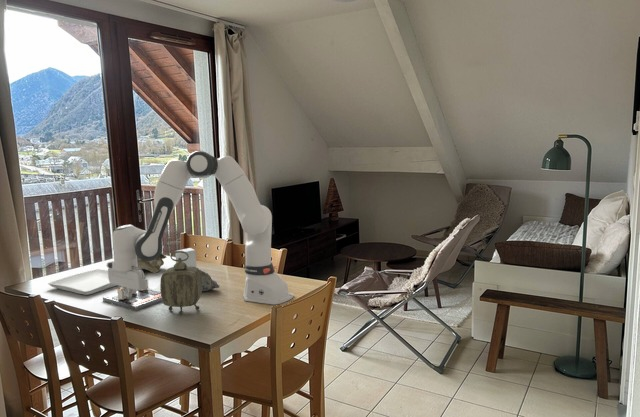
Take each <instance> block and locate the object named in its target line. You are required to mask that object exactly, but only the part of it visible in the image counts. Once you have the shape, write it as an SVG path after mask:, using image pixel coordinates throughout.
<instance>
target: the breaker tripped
mask: <svg viewBox="0 0 640 417" xmlns="http://www.w3.org/2000/svg"><path fill="white" fill-rule="evenodd" d="M116 290H117V292H116V293H117V294H118V299H122V300H123V299H126V298H128V297H124V292H123V290H122V286H120V287H118V288H116Z"/></svg>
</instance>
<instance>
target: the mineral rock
mask: <svg viewBox="0 0 640 417" xmlns="http://www.w3.org/2000/svg"><path fill="white" fill-rule="evenodd" d="M199 271H200V273H201V279H202V292H207V291H212V290H215V289H219V288H220V285H219V283H218V282H217V281H216V280H214V279H212V277H211V275H210V273H207V272H205V271H204V270H201V269H199Z"/></svg>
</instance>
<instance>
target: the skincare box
mask: <svg viewBox="0 0 640 417" xmlns="http://www.w3.org/2000/svg"><path fill="white" fill-rule="evenodd" d="M176 251H184V252H186V253H187V254H188V256H189V257H188V259H187V260H186V261H182V262H184V263H185V264H186V265H187V266H192V267H196V268H197V257H196V256H197V253H196V250H195V249H193V248H192V247H188V248H183V249H179V250H176ZM174 254H175V260H178V258H181V260H184V259H186V258H187V255H186V254H185V253H174ZM176 263H177V261H175V264H176Z"/></svg>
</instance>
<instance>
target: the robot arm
mask: <svg viewBox="0 0 640 417" xmlns="http://www.w3.org/2000/svg"><path fill="white" fill-rule="evenodd" d="M210 176H213V177H214V178H215V179H217V181H218V182H219V184H220V185H221V187H222V189H223V191H224V192H225V195H226V196H227V198H228V199H229V200H230V202H231V205H232V206H233V209H234V210H235V213H236V216H237V219H238V220H239V222H240V224H241V228H242V230H243V231H244V233H246V235H245V244H244V245H245V246H244V250H245V263H244V273H245V282H244V289H243V294H242V297H243V300H244V302H251V303H260V304H267V305H279V304H280V305H281V304H283V303H286V302H288V301H290V300H291V299H293V298H294V297H295V296H294V293H293V292H289V289H288V284H287V282H286V280H284V279H283V278H282V277H281V276H280V275H279V274H278V273H277V272H276V270H275V269H277V265H273V263H272V232H273V231H272V229H273V227H272V225H273V224H272V223H273V215H272V212H271V210H270V209H269V207H267V206H266V205H263V204H261V203H260V201H259V198H258V196H257V193H256V190H255V189H254V186H253V185H252V183H251V182H250V180H249V178H248V176H247V175H246V174H245V171H244V170H243V169H242V167H241V166H240V165H239V163H238V162H237V161H236V160H235V159H234V157H232V156H231V155H223V156H220V157H218V158H216V157H215V156H213V155H211V154H210V153H208V152H206V151H203V150H196V151H193V152H191V153H190V154H189V155H188V156H187V158H186V160H182V159H178V158H173V159H170V160H169V161H168V162H167V163H166V165H165V166H164V168H163V170H162V171H161V173H160V175H159V178H158V180H157V182H156V184H155V185H156V186H155V188H154V194H153V202H154V204H153V205H154V209H153V213H152V217H151V220H150V222H149V224H148V227H147V229H146V230H144V229H141V228H139V227H136V226H134V225H133V224H125V225H124V224H123V225H120V226H118V227H116V228H115V229H114V230H113V233H112V249H113V251H114V255H113V260H112V261H109V262H107V263H106V267H107V268H108V269H107V270H108V279H109V282H110V283H111V284H114V285H117V286H119V287H122V290H123V292H124V297H128V298H130V297H132V292H133V290H138V291H139V290H143V289H145V288H146V280H145V279H146V276H145V275H146V274H145V273H144V270H143V269H141V268H140V267H138V264H137V257H138V258H140V259H141V260H143V261H153V260H155V259H157V258H158V257H159V256H160V254H162V251H163V242H162V241H163V240H162V239H163V235H164V234H165V231H166V228H167V225H168V222H169V219H170V217H171V215H172V213H173V211H174V209H175V208H176V206H177V204H178V203H179V201H180V200H181V197H182V195H183V194H184V191H185V189H186V186H187V184H188V182H189V181H190V179H191V178H193V179H196V178H197V179H207V178H209V177H210Z"/></svg>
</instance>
